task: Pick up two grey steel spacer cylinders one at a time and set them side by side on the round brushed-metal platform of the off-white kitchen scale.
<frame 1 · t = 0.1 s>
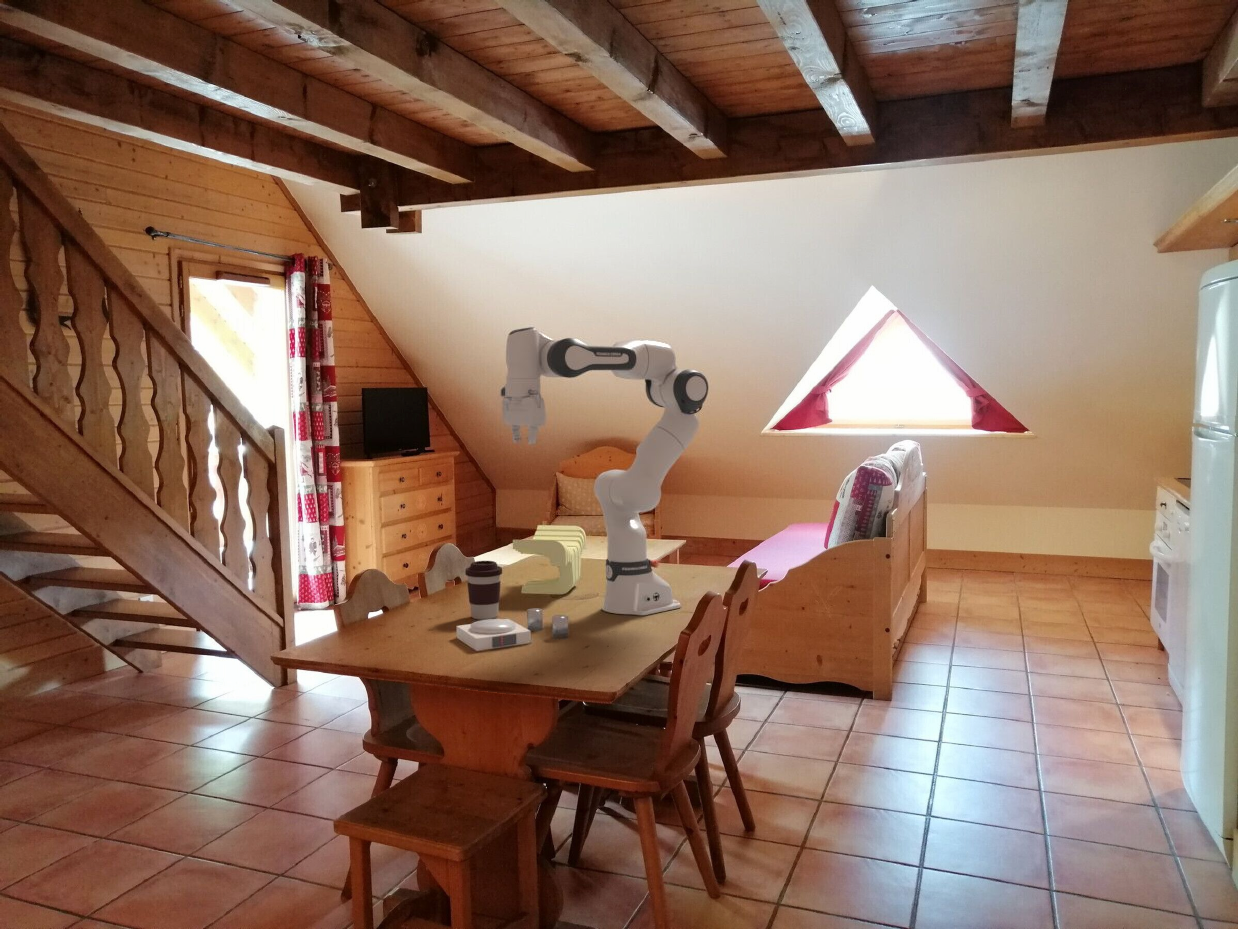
hand: (524, 443, 248), 48 cm above the table, fingers open, 8 cm apart
spacer a: (535, 629, 245), on the table
slatted curved stool: (551, 590, 293), on the table
spacer b: (560, 636, 238), on the table
scale: (493, 640, 234), on the table
coffee cup: (484, 617, 258), on the table
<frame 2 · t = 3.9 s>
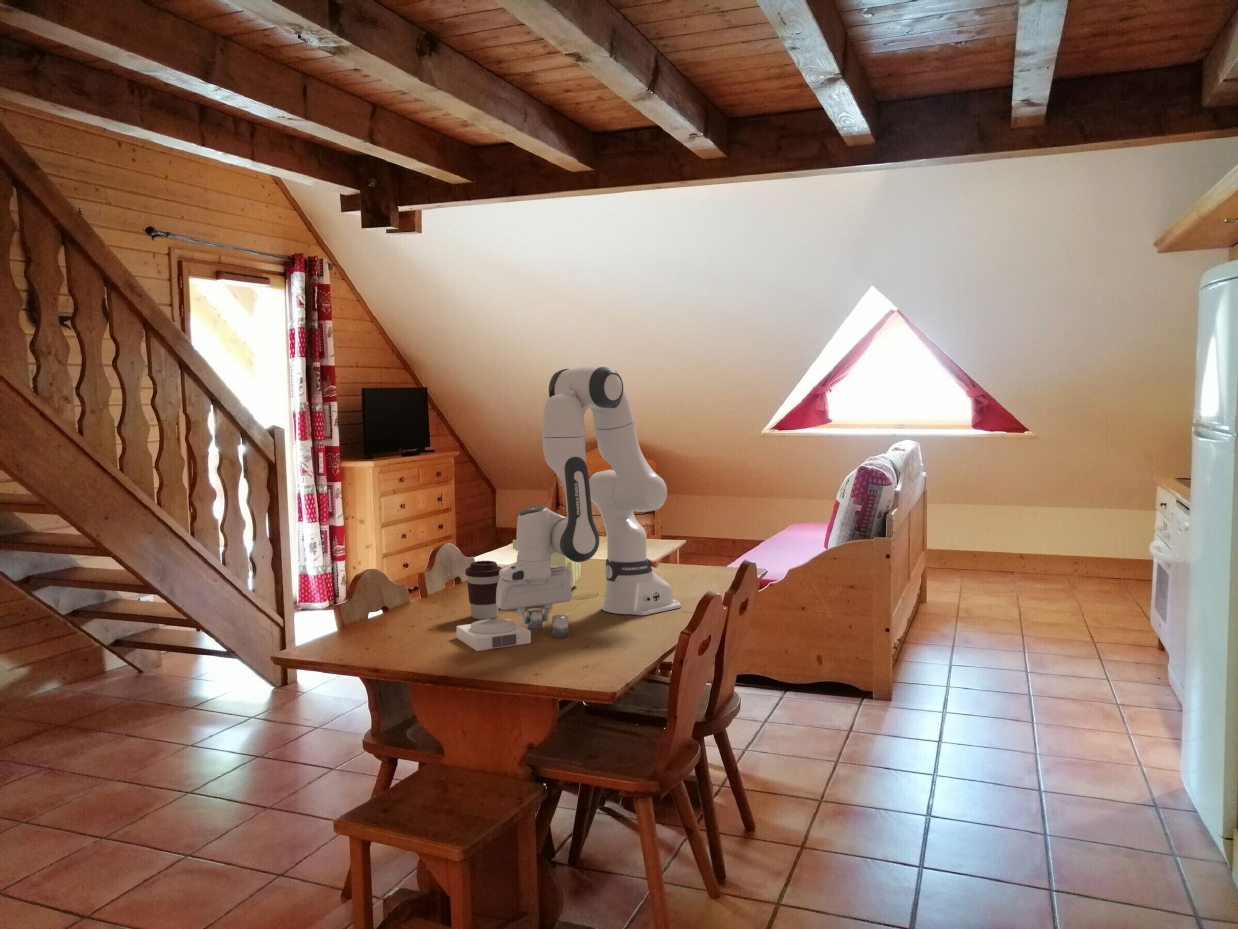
hand: (534, 622, 245), 2 cm above the table, fingers closed on spacer a, 4 cm apart
spacer a: (535, 629, 245), on the table, touching gripper
everything else where it was.
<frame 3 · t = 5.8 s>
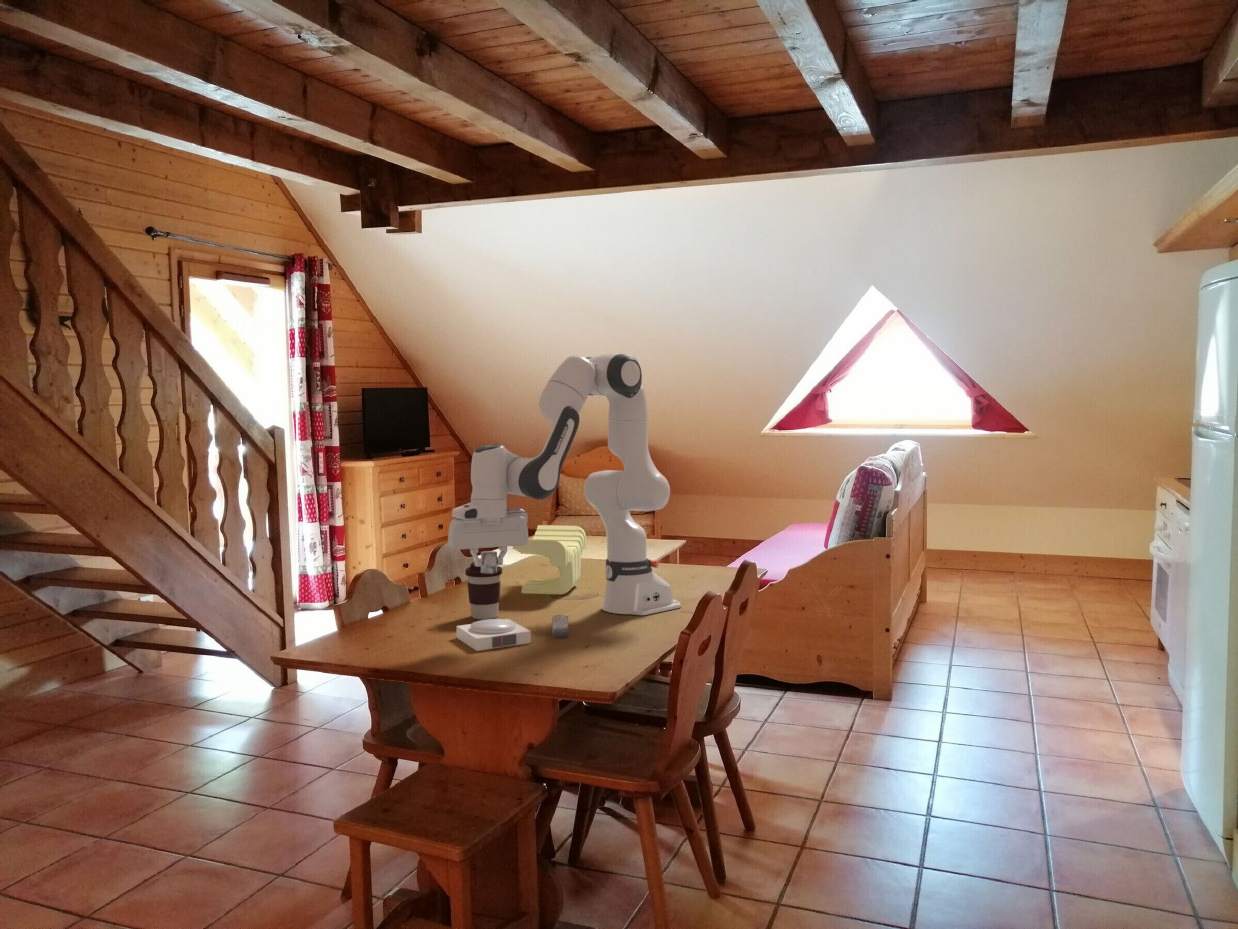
hand: (488, 565, 235), 18 cm above the table, fingers closed on spacer a, 4 cm apart
spacer a: (488, 572, 235), point 17 cm above the table, touching gripper
everything else where it was.
when the fingers open (7 cm above the table, at t = 8.1 s): spacer a drops 1 cm, resting on scale.
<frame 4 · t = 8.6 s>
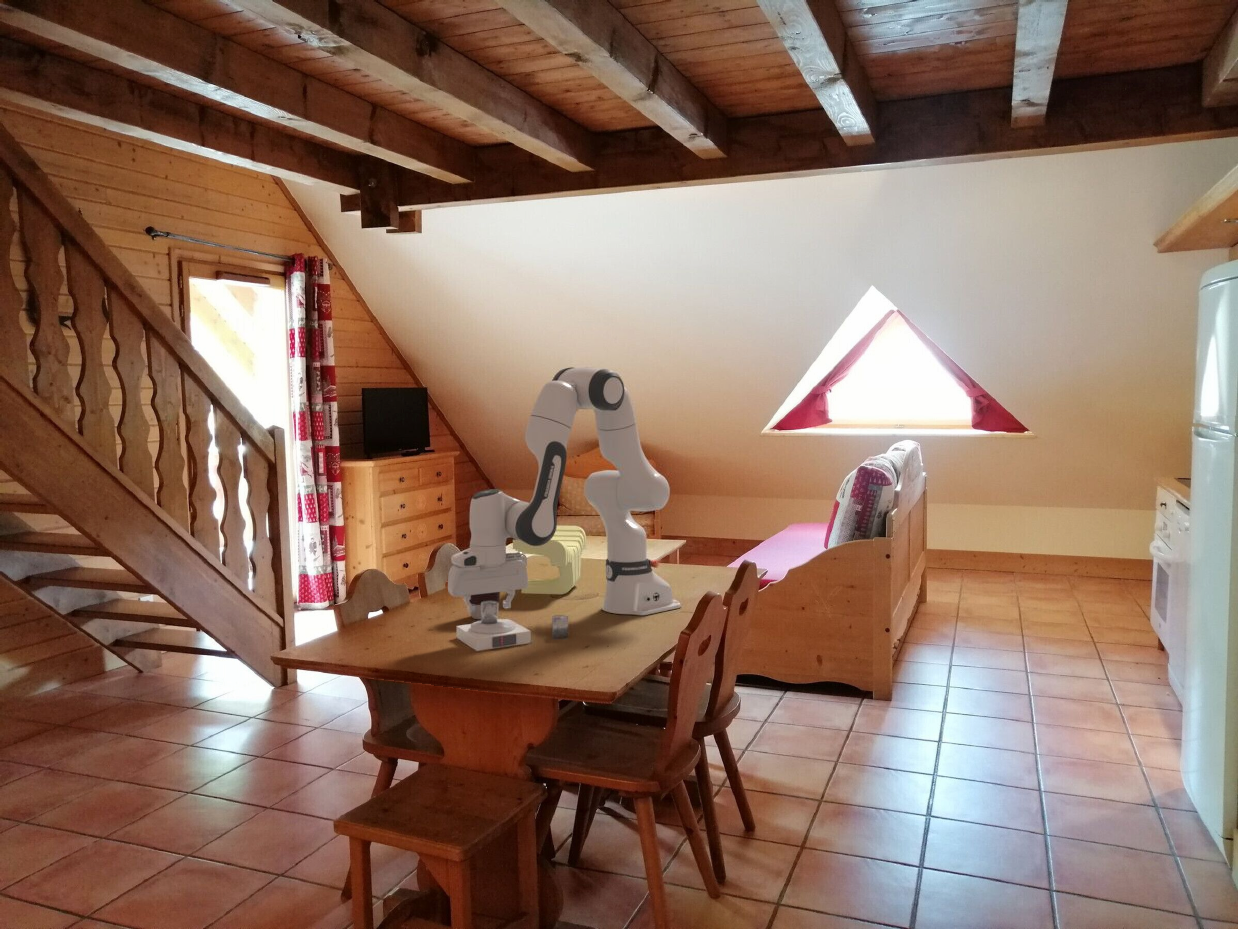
hand: (489, 610, 236), 7 cm above the table, fingers open, 8 cm apart
spacer a: (489, 622, 236), point 4 cm above the table, touching scale
everything else where it was.
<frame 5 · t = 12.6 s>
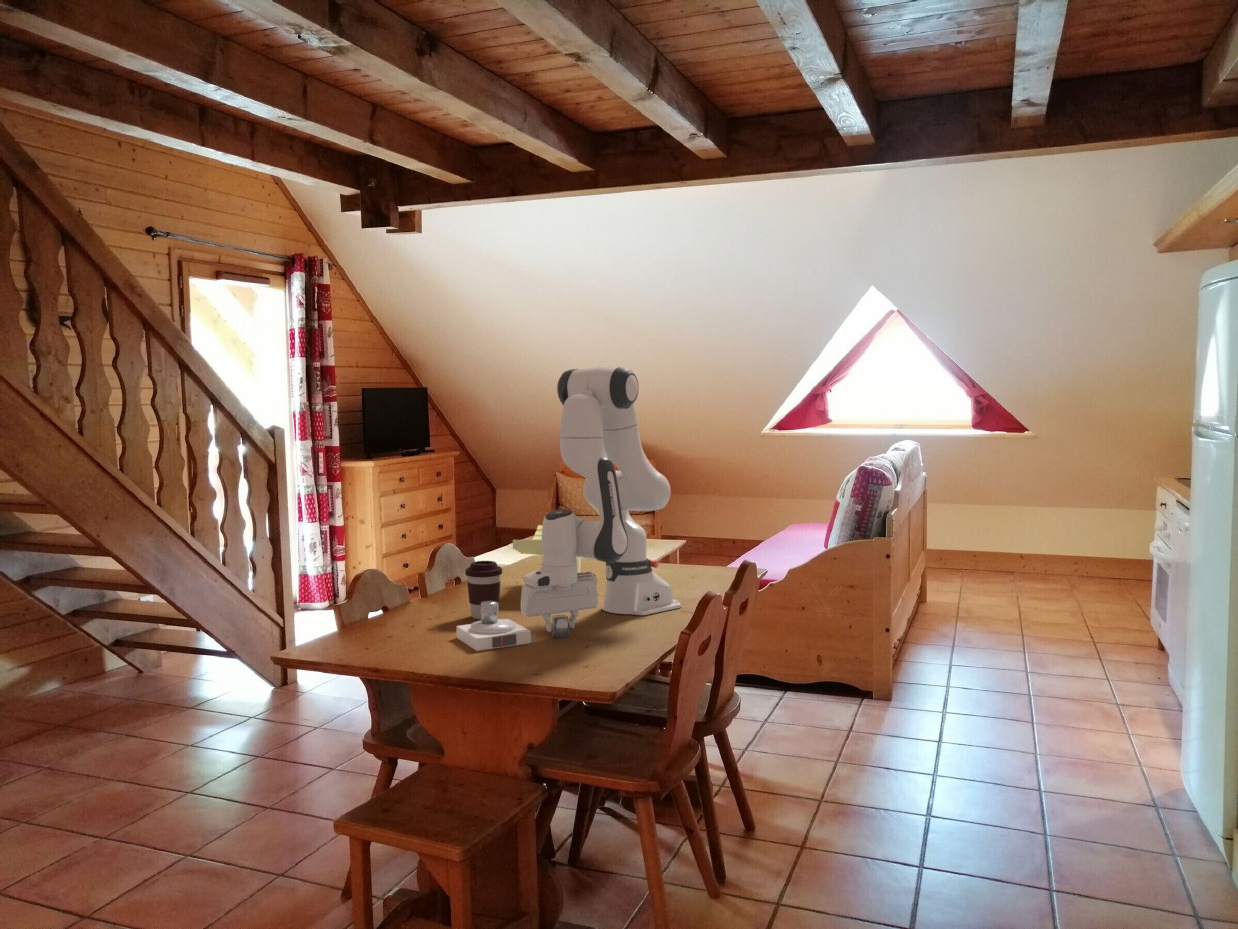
hand: (560, 629, 237), 2 cm above the table, fingers closed on spacer b, 4 cm apart
spacer b: (560, 636, 238), on the table, touching gripper
everything else where it was.
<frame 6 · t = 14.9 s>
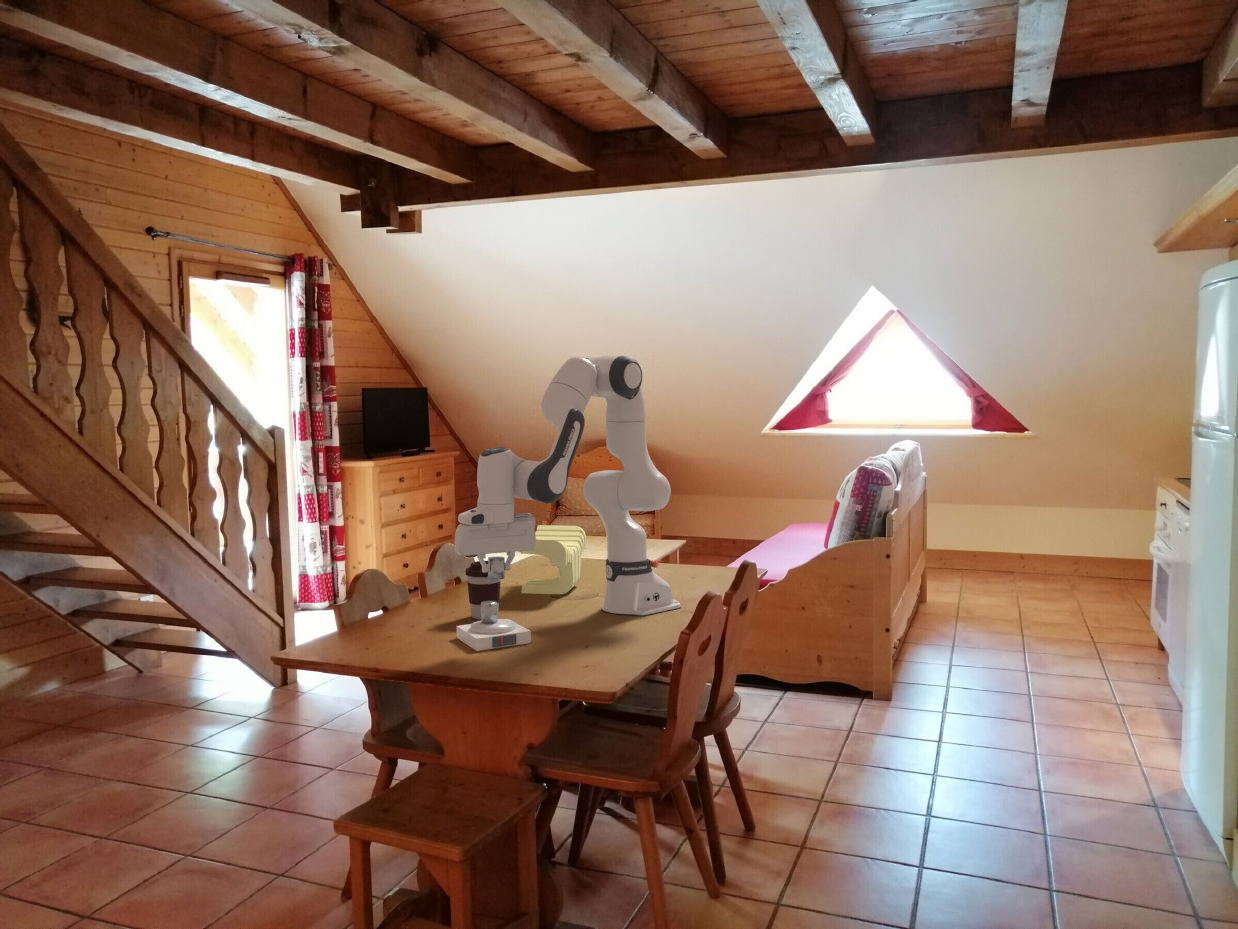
hand: (496, 571, 230), 18 cm above the table, fingers closed on spacer b, 4 cm apart
spacer b: (496, 578, 230), point 16 cm above the table, touching gripper
everything else where it was.
when the fingers open (7 cm above the table, at t = 17.2 s): spacer b drops 1 cm, resting on scale.
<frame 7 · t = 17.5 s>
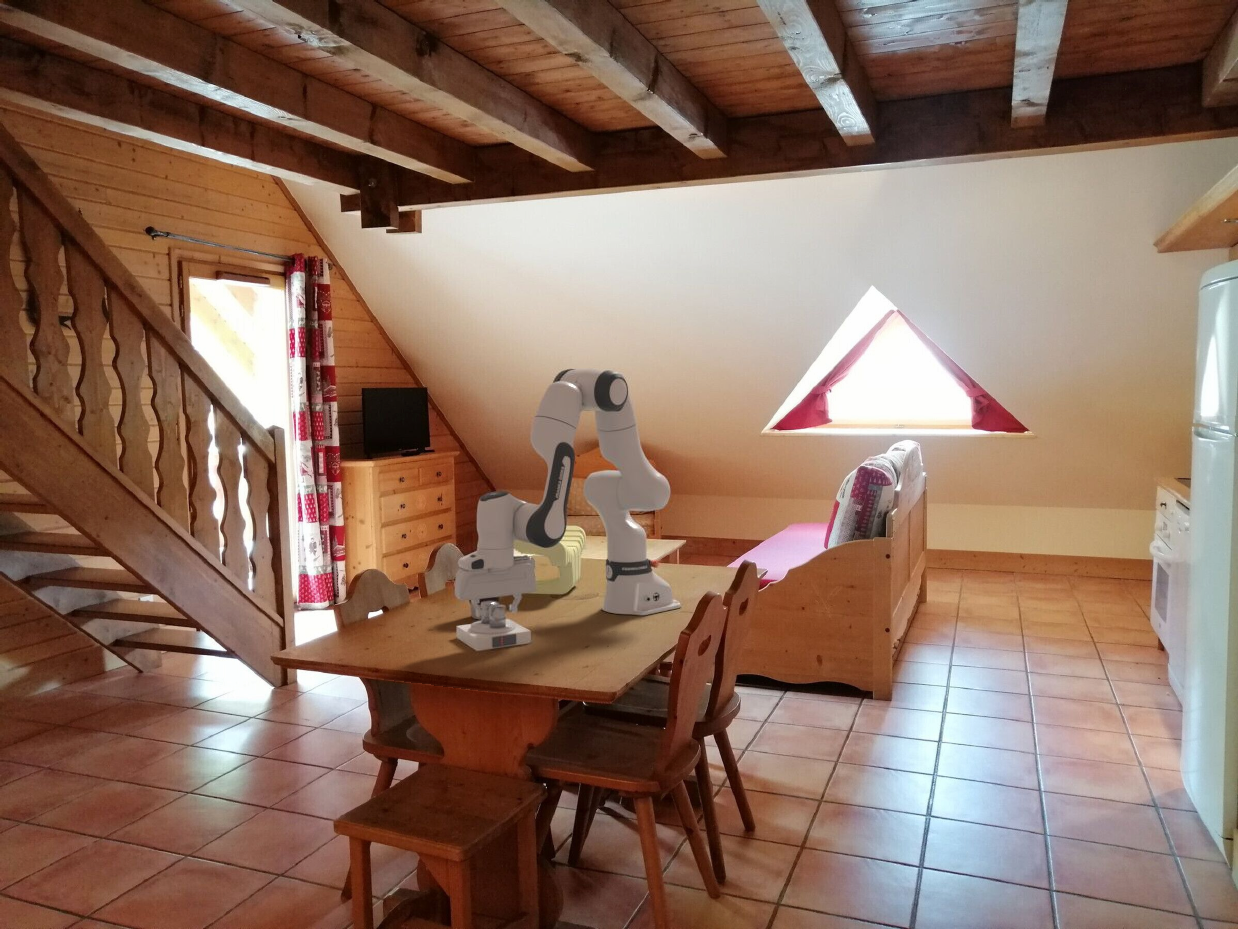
hand: (496, 614, 231), 7 cm above the table, fingers open, 7 cm apart
spacer b: (497, 626, 232), point 4 cm above the table, touching scale
everything else where it was.
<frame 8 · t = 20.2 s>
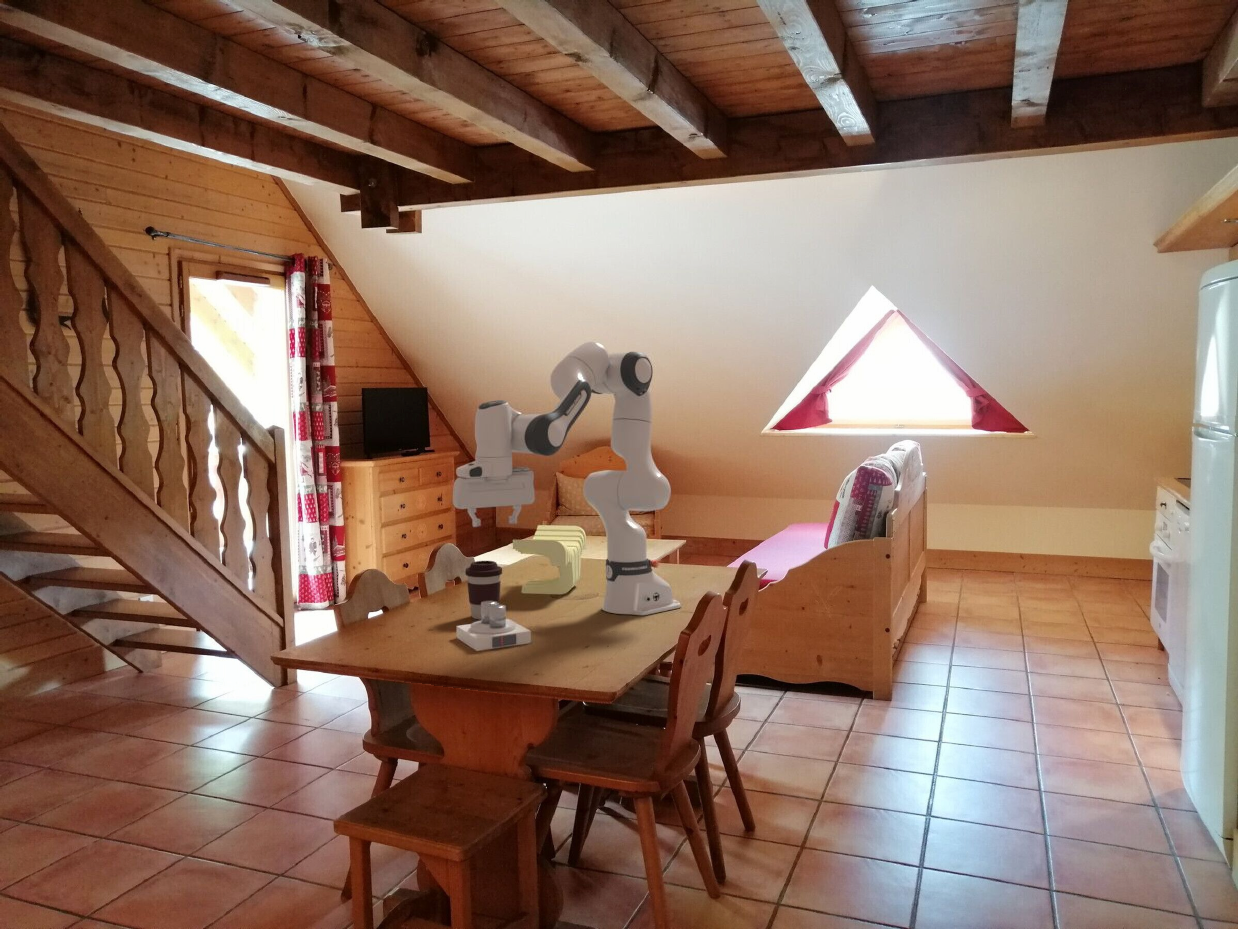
hand: (495, 525, 230), 29 cm above the table, fingers open, 8 cm apart
nothing on the table moved.
at the end: spacer a inside the target area on the scale (2.5 cm from its centre), point 4.0 cm above the scale's base; spacer b inside the target area on the scale (2.6 cm from its centre), point 4.0 cm above the scale's base; spacer b tilted 0° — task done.
